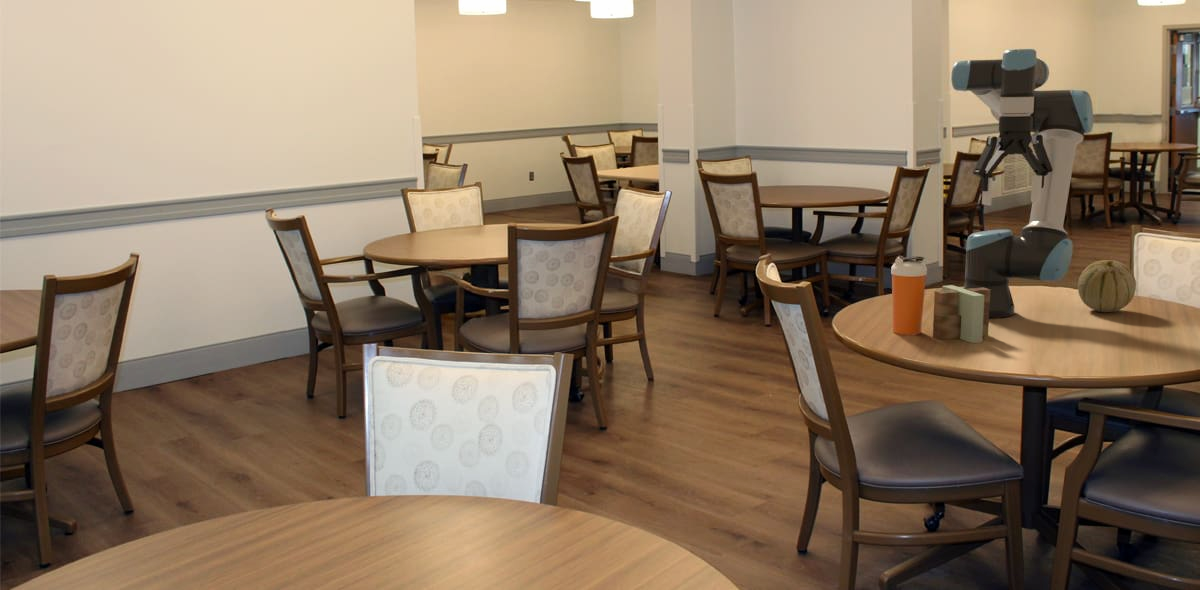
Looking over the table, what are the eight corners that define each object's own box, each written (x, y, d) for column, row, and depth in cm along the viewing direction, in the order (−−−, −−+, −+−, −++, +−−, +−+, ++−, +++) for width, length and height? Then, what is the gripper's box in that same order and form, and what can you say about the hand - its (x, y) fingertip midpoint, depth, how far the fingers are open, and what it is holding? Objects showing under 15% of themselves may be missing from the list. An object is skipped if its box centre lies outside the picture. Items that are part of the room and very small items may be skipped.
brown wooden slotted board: (981, 332, 263) (983, 287, 260) (987, 335, 260) (990, 289, 257) (932, 336, 259) (934, 291, 257) (939, 339, 257) (941, 293, 254)
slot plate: (940, 330, 266) (942, 285, 263) (950, 329, 267) (952, 285, 264) (971, 343, 253) (973, 296, 250) (982, 342, 253) (984, 295, 251)
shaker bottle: (926, 336, 260) (929, 259, 256) (890, 335, 262) (893, 259, 258) (922, 328, 269) (925, 254, 265) (887, 327, 271) (890, 254, 267)
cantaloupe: (1116, 305, 290) (1120, 253, 287) (1145, 316, 276) (1149, 262, 273) (1065, 306, 290) (1069, 255, 287) (1091, 318, 275) (1095, 264, 272)
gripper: (1051, 113, 249) (1045, 199, 253) (960, 116, 243) (956, 204, 247) (1071, 113, 242) (1065, 202, 246) (979, 117, 236) (974, 207, 240)
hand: (1011, 203), depth 247 cm, fingers open, 13 cm apart
